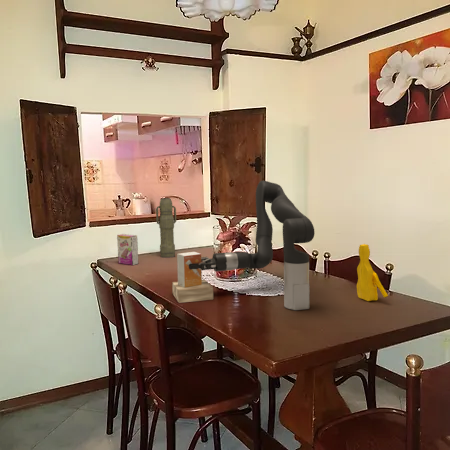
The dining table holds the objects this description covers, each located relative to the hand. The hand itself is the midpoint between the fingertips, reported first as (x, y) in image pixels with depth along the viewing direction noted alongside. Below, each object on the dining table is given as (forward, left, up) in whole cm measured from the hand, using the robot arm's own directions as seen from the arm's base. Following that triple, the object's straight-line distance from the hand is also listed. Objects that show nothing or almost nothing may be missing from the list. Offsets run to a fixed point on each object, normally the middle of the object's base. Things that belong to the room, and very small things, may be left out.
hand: (186, 264), depth 187 cm
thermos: (+91, -7, -14) cm, 92 cm away
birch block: (0, -2, -14) cm, 14 cm away
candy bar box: (+77, +18, -14) cm, 80 cm away
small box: (0, -1, -9) cm, 9 cm away
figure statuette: (-28, -66, -14) cm, 73 cm away
